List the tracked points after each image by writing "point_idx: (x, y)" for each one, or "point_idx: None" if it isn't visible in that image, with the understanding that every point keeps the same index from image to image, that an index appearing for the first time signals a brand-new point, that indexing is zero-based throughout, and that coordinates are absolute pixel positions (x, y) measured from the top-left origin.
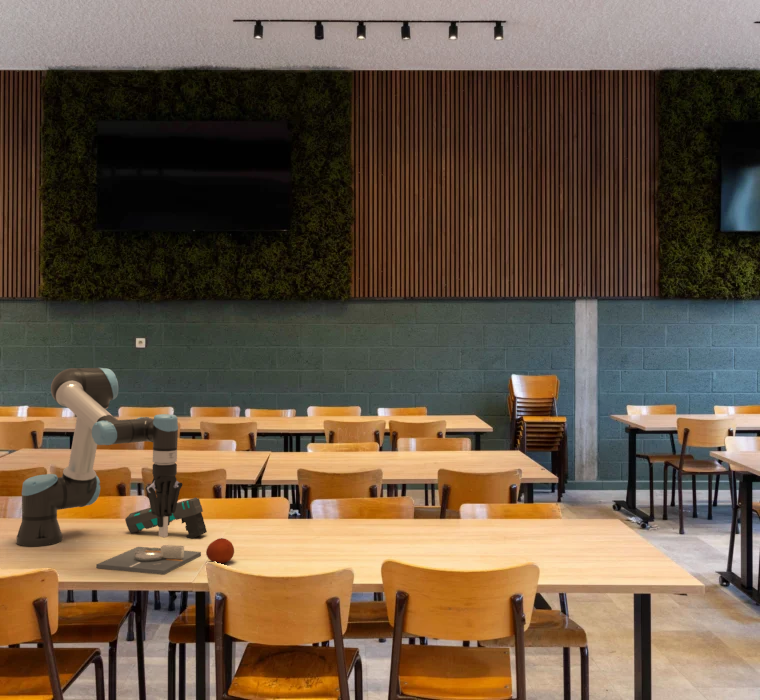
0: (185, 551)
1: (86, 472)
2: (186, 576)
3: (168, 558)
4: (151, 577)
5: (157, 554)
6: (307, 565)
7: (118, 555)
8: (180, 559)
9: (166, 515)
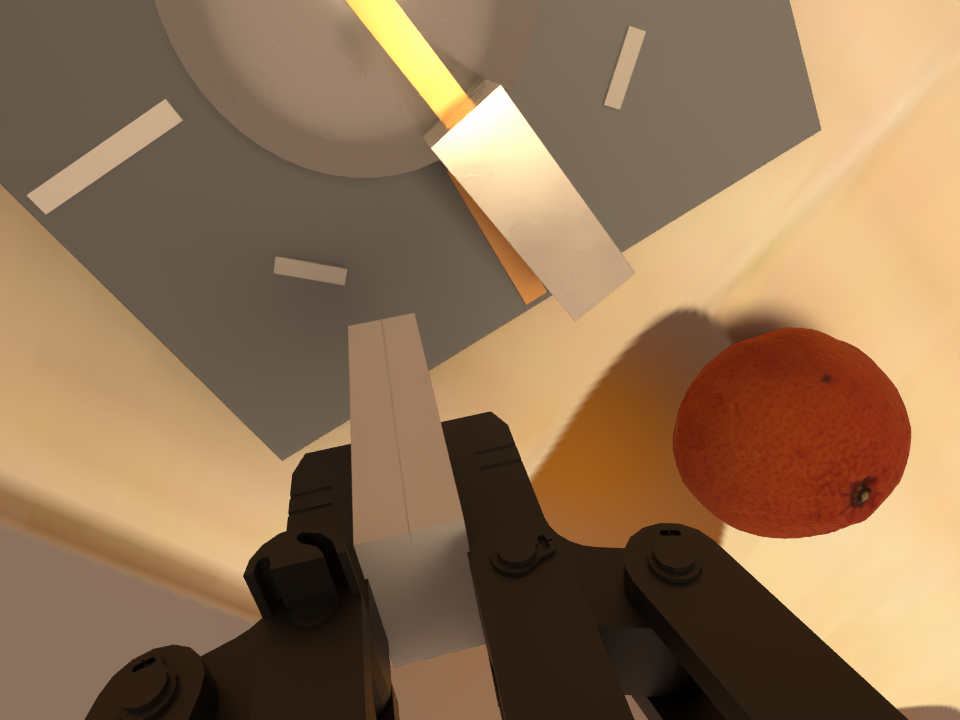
0: (756, 3)
1: None
2: None
3: None
4: (175, 459)
5: (364, 175)
6: (923, 637)
7: None
8: None
9: (479, 625)
